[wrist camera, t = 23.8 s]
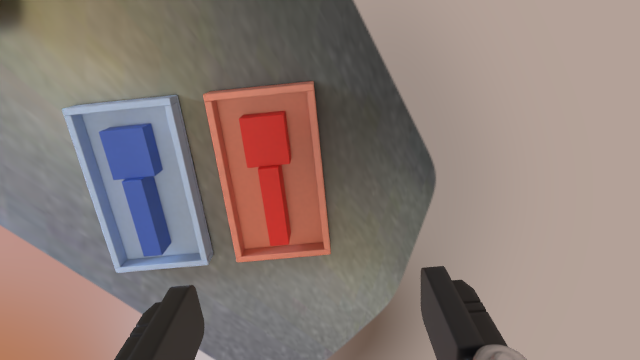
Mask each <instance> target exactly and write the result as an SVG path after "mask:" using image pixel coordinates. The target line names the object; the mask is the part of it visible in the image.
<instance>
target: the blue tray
mask: <svg viewBox="0 0 640 360" xmlns="http://www.w3.org/2000/svg"><path fill="white" fill-rule="evenodd" d="M62 112H63V115H64V117H65V120H66V123H67V126H68V129H69V132H70V135H71V138H72V141H73V144H74V147H75V150H76V153H77V156H78V159H79V162H80V165H81V168H82V171H83V174H84V177H85V180H86V183H87V186H88V189H89V192H90V195H91V198H92V201H93V204H94V207H95V210H96V213H97V216H98V219H99V222H100V225H101V228H102V231H103V234H104V237H105V240H106V243H107V246H108V249H109V252H110V255H111V258H112V261H113V264H114V267H115V270H116V273H122V272H133V271H145V270H156V269H167V268H179V267H190V266H202V265H208V264H209V262H210V260H211V258H212V256H213V250H212V245H211V241H210V236H209V232H208V227H207V223H206V219H205V214H204V210H203V205H202V201H201V196H200V192H199V188H198V183H197V179H196V174H195V170H194V165H193V161H192V156H191V152H190V148H189V143H188V139H187V134H186V130H185V125H184V121H183V117H182V112H181V108H180V103H179V99H178V95H170V96H160V97H150V98H141V99H131V100H121V101H111V102H101V103H91V104H82V105H74V106H71V107H67V108H63V109H62ZM148 123H151V125H152V129H153V133H154V137H155V141H156V145H157V149H158V152H159V156H160V160H161V164H162V168H163V170H162V171H161V172H160V173H158V174H157V175H156V176H154V179H155V183H156V187H157V190H158V194H159V198H160V202H161V205H162V209H163V213H164V217H165V220H166V224H167V228H168V231H169V235H170V239H171V244H170V245H169V247H168V248H167V249H166V251H165V252H164V253H163V255H158V256H146V257H144V255H143V252H142V249H141V245H140V242H139V239H138V235H137V232H136V229H135V225H134V222H133V219H132V215H131V212H130V209H129V205H128V202H127V199H126V195H125V192H124V189H123V185H122V181H123V180H125V179H121V180H113V177H112V174H111V171H110V167H109V164H108V161H107V158H106V154H105V151H104V148H103V145H102V141H101V138H100V135H99V132H100V131H102V130H104V129H107V128H109V127H118V126H128V125H138V124H148Z"/></svg>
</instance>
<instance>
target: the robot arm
mask: <svg viewBox="0 0 640 360" xmlns="http://www.w3.org/2000/svg"><path fill="white" fill-rule="evenodd" d="M421 311H422V317H423V321H424V324H425V327H426V330H427V332H428V335H429V338H430V341H431V344H432V347H433V350H434V353H435V355H436V358H437V360H527V359H526V358H525V357H524V356H523V355H522V354H520V353H519V352H518V351H515V350H514V349H512V348H510V347H508V346H507V344H506V343H505V341H504V339H503V338H502V336H501V334H500V332H499V331H498V330H497V328H496V326H495V324H494V322H493V321H492V319H491V317H490V316H489V314H488V312H486V309H485V307H484V306H483V304H482V303H481V302H480V299H479V297H478V296H477V294H476V292H475V290H474V289H473V288H472V287H470V286H469V285H468V284H466V283H465V282H464V281H463V280H453V281H452V280H451V278H450V276H449V274H448V272H447V271H446V269H445V267H444V266H439V267H427V268H422V269H421ZM203 335H204V318H203V315H202V311H201V307H200V303H199V299H198V295H197V292H196V289H195V287H194V286H193V285H189V286H176V287H171V288H170V289H169V290H168V292H167V294H166V295H165V297H164V299H163V300H162V302H158V303H155V304H154V305H153V306H151V307H150V308H149V309H148V310H147V311H146V312H145V313H143V315H142V317H141V318H140V320H139V321H138V323H137V325H136V327H135V328H134V329H133V331H132V333H131V334H130V337H129V338H128V339H127V340H126V342H125V344H124V345H123V347H122V348H121V350H120V351H119V353H118V354H117V356H116V358H115V359H114V360H194V359H195V357H196V354H197V351H198V349H199V346H200V344H201V341H202V338H203Z"/></svg>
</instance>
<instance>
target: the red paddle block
mask: <svg viewBox="0 0 640 360" xmlns="http://www.w3.org/2000/svg"><path fill="white" fill-rule="evenodd" d="M239 124H240V129H241V135H242V141H243V147H244V152H245V158H246V164H247V168H254V167H259V168H258V175H259V181H260V187H261V193H262V199H263V206H264V212H265V218H266V224H267V230H268V236H269V242H270V246H278V245H289V242H290V235H291V229H290V222H289V215H288V208H287V201H286V194H285V187H284V179H283V172H282V165H285V164H290V162H291V151H290V143H289V136H288V128H287V120H286V113H285V111H277V112H267V113H257V114H247V115H242V116H241V117H240V118H239Z"/></svg>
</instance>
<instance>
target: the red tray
mask: <svg viewBox="0 0 640 360" xmlns="http://www.w3.org/2000/svg"><path fill="white" fill-rule="evenodd" d="M203 98H204V101H205V107H206V112H207V117H208V122H209V127H210V132H211V137H212V142H213V147H214V152H215V157H216V161H217V166H218V171H219V176H220V181H221V186H222V191H223V196H224V201H225V206H226V211H227V216H228V221H229V226H230V231H231V236H232V240H233V245H234V250H235V255H236V260H237V262H248V261H259V260H270V259H282V258H293V257H305V256H316V255H328V254H331V249H330V237H329V227H328V217H327V207H326V197H325V187H324V178H323V168H322V158H321V148H320V138H319V128H318V118H317V109H316V99H315V89H314V81H308V82H298V83H288V84H278V85H268V86H258V87H249V88H239V89H229V90H219V91H210V92H207V93H205V94H203ZM277 111H285V113H286V120H287V128H288V136H289V143H290V151H291V162H290V164H285V165H282V172H283V179H284V187H285V194H286V201H287V208H288V215H289V222H290V229H291V235H290V242H289V245H278V246H270V242H269V236H268V230H267V224H266V218H265V212H264V206H263V199H262V193H261V187H260V181H259V175H258V168H259V167H254V168H247V164H246V158H245V152H244V147H243V141H242V135H241V129H240V124H239V118H240V117H241V116H242V115H247V114H257V113H267V112H277Z"/></svg>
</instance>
